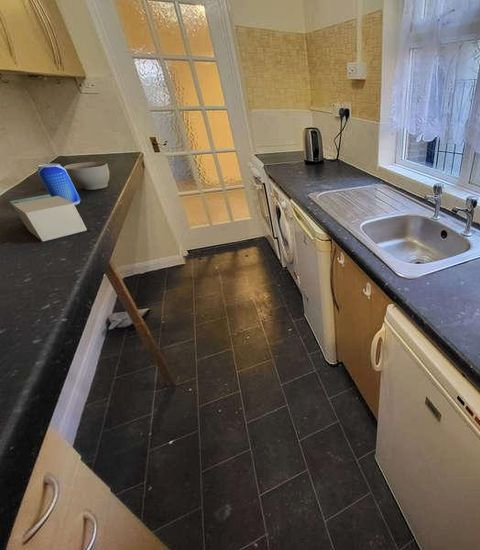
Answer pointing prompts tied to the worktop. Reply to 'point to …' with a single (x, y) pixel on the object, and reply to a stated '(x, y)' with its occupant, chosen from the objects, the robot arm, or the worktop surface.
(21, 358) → the worktop surface
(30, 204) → the white slanted wedge
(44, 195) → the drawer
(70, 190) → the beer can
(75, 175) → the planter bowl
